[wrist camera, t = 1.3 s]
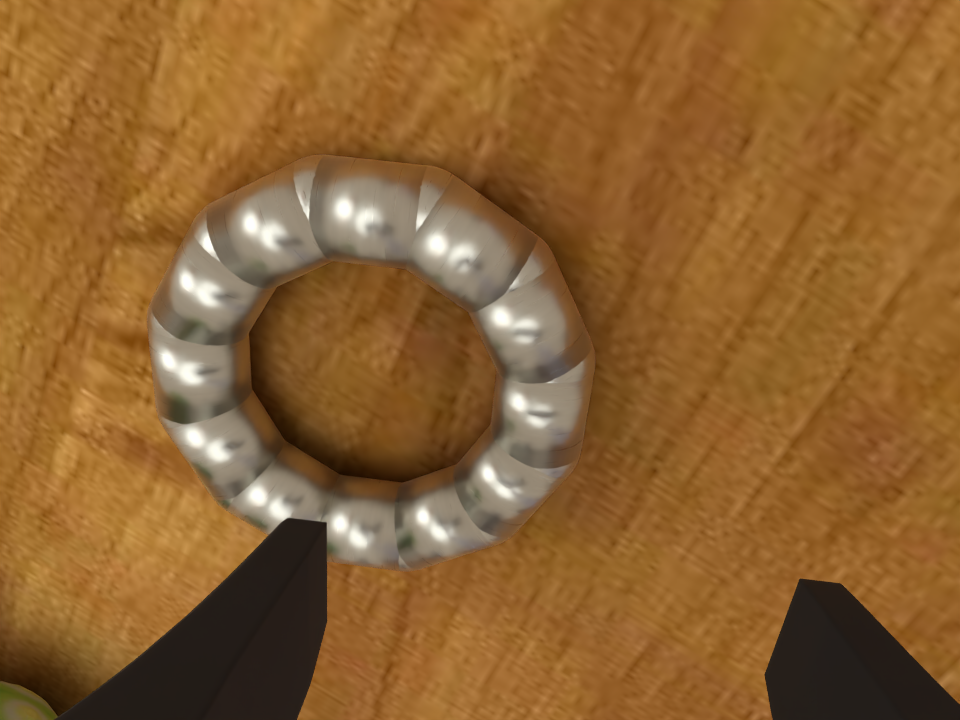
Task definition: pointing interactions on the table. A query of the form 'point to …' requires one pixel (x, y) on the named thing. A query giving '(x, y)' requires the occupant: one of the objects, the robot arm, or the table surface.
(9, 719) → the decorative ball
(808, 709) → the robot arm
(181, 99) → the table surface
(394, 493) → the segmented metal ring
